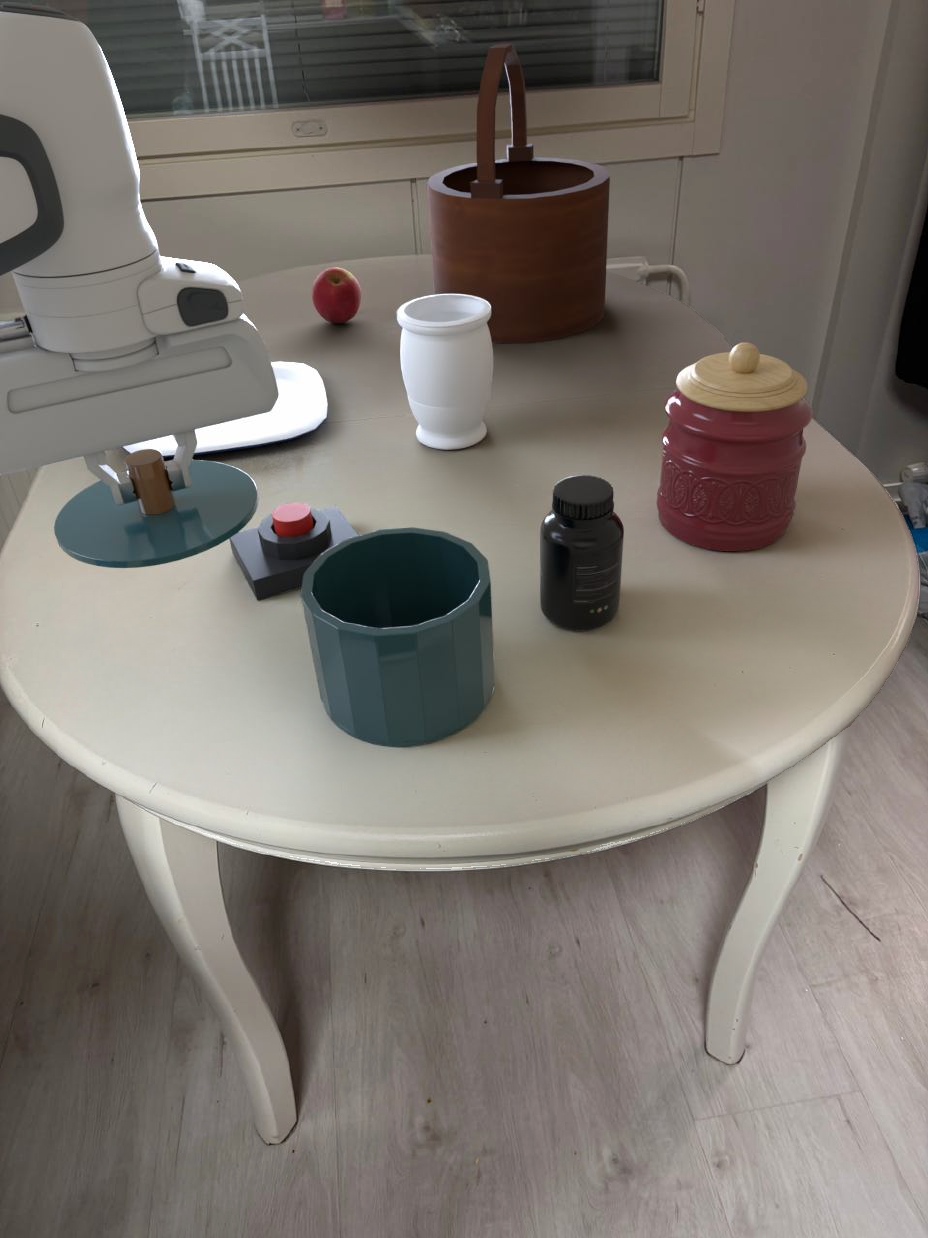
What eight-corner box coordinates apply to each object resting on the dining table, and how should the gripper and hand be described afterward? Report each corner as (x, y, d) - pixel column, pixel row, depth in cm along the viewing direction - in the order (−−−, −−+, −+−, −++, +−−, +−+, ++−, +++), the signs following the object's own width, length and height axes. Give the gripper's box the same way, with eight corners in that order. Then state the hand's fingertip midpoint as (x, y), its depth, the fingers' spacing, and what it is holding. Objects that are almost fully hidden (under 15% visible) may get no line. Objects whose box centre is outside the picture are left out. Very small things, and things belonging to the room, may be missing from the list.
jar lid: (71, 598, 61) (46, 531, 58) (49, 503, 72) (26, 441, 69) (284, 538, 66) (271, 473, 63) (233, 457, 76) (220, 397, 73)
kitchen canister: (631, 504, 94) (642, 333, 84) (738, 476, 98) (762, 309, 87) (703, 568, 84) (726, 384, 74) (820, 534, 88) (858, 354, 77)
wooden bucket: (613, 287, 149) (624, 30, 128) (594, 346, 129) (604, 53, 108) (458, 283, 154) (444, 37, 133) (416, 340, 135) (393, 60, 114)
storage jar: (357, 771, 66) (338, 657, 60) (300, 664, 76) (278, 557, 70) (524, 709, 71) (523, 597, 64) (449, 615, 81) (442, 511, 74)
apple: (306, 329, 141) (298, 275, 136) (328, 311, 147) (320, 259, 142) (352, 332, 139) (346, 277, 134) (372, 313, 145) (366, 261, 140)
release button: (281, 541, 85) (278, 525, 84) (270, 524, 87) (267, 508, 86) (318, 531, 86) (315, 515, 85) (306, 514, 89) (303, 498, 88)
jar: (496, 454, 105) (491, 322, 96) (404, 457, 105) (392, 327, 96) (494, 414, 113) (491, 289, 104) (410, 417, 113) (399, 294, 104)
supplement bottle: (526, 599, 82) (525, 479, 75) (594, 579, 84) (599, 460, 77) (563, 643, 77) (565, 518, 69) (634, 620, 79) (643, 496, 71)
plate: (114, 475, 105) (110, 462, 104) (131, 389, 125) (128, 377, 124) (336, 445, 108) (334, 431, 107) (318, 366, 128) (317, 354, 127)
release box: (257, 600, 84) (248, 564, 81) (232, 553, 90) (224, 518, 88) (370, 567, 87) (365, 530, 85) (338, 524, 94) (333, 489, 92)
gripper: (-78, 352, 53) (6, 553, 62) (265, 286, 60) (299, 476, 68) (-78, 320, 58) (0, 511, 66) (240, 262, 65) (275, 443, 73)
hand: (154, 493), depth 67 cm, fingers closed on jar lid, 2 cm apart
